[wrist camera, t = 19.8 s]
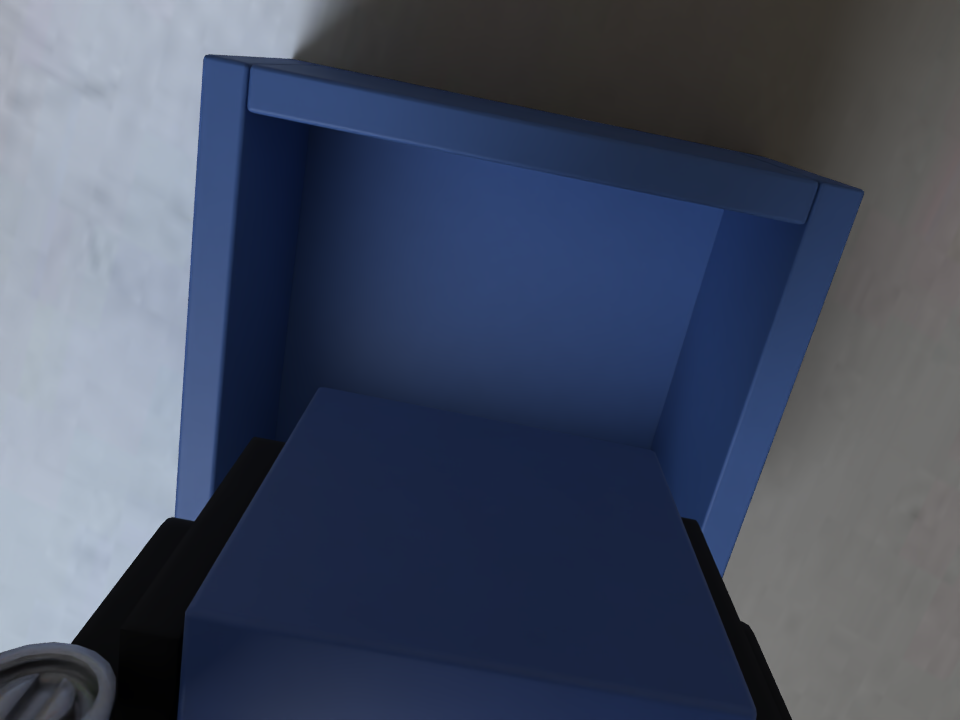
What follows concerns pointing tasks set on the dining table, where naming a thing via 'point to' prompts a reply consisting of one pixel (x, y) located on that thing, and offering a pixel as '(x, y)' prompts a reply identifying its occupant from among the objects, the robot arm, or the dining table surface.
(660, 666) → the blue block
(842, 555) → the dining table surface
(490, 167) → the blue bin
